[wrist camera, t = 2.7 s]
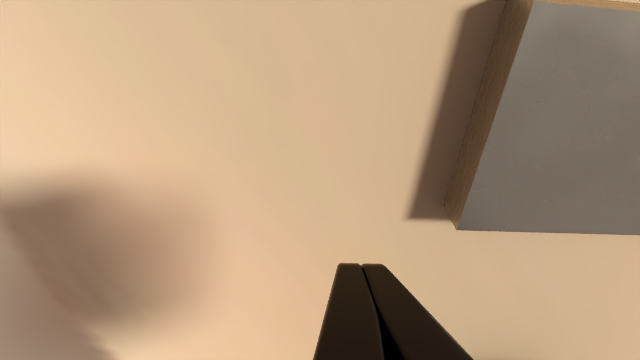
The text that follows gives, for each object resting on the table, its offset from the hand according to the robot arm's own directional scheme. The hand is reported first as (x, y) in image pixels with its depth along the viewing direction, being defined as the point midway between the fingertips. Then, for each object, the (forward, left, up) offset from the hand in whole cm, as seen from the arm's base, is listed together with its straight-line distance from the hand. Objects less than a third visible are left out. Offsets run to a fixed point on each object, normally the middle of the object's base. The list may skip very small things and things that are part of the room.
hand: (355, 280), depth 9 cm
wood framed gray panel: (0, -11, -9) cm, 14 cm away
